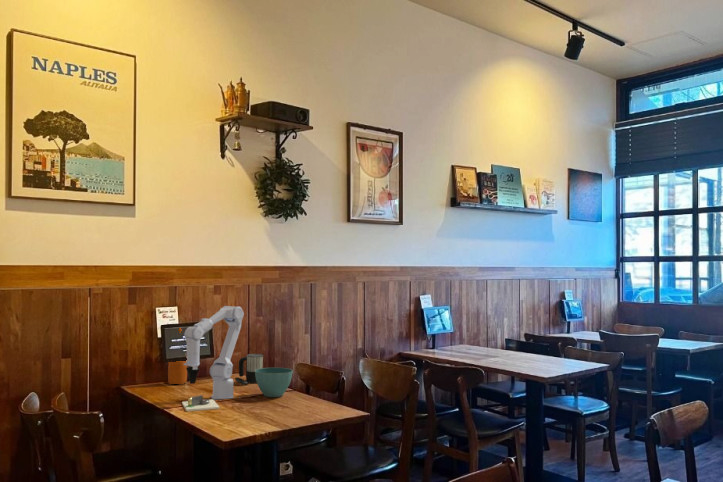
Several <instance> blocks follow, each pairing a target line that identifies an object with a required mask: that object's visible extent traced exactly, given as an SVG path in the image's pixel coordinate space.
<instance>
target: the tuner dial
mask: <svg viewBox="0 0 723 482" xmlns="http://www.w3.org/2000/svg"><path fill="white" fill-rule="evenodd" d="M209 400H210V399H204V397H203V395H201V394H200V395H196V396H192V397H191V396H190V397H188V398H187V401H188V406H192V405H197V404H208V403H209Z"/></svg>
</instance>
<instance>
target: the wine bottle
mask: <svg viewBox="0 0 723 482" xmlns="http://www.w3.org/2000/svg"><path fill="white" fill-rule="evenodd" d="M178 328H179V330H178V331H180V332H179V333H181V331H182V332H183V329H181V328H182V327H178ZM184 363H186V361H176V362H169V361H168V365H167V366H168V368H167V369H168V371H167V373H168V374H167V377H168V379H167V380H168V381H167V382H168V384H169V385H171V384H181V385H184V384H183V383H185V384H186V383H187V381H188V372H187V369H186V368H188V366H187V365H184Z"/></svg>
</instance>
